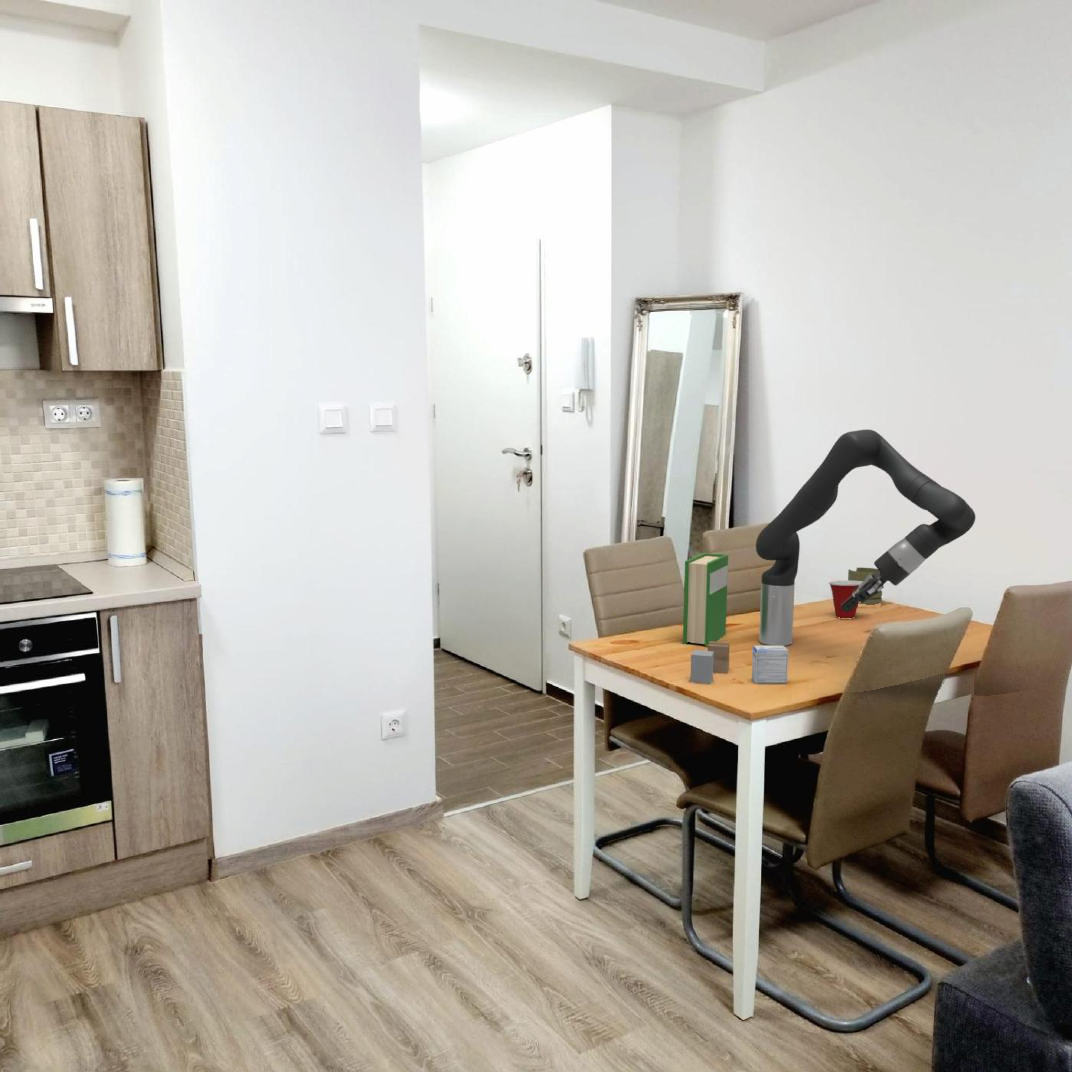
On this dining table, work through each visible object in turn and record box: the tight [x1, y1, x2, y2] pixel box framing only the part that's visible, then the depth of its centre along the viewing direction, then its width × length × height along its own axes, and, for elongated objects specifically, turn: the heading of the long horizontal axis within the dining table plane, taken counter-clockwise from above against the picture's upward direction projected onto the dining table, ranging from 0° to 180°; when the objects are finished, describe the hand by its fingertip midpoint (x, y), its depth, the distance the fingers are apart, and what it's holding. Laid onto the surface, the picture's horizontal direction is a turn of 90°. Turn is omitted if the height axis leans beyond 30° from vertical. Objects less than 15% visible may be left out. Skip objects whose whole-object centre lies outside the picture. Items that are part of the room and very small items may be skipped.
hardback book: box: [682, 552, 729, 648], centre depth 297 cm, size 18×7×24 cm, turn 154°
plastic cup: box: [828, 580, 862, 618], centre depth 329 cm, size 11×11×12 cm
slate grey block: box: [689, 649, 714, 685], centre depth 254 cm, size 5×5×7 cm
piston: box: [847, 567, 883, 605], centre depth 351 cm, size 11×12×11 cm
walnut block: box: [707, 641, 731, 675], centre depth 263 cm, size 5×5×7 cm
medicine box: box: [751, 645, 789, 685], centre depth 253 cm, size 8×4×9 cm, turn 92°
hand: (843, 609), depth 247 cm, fingers closed
